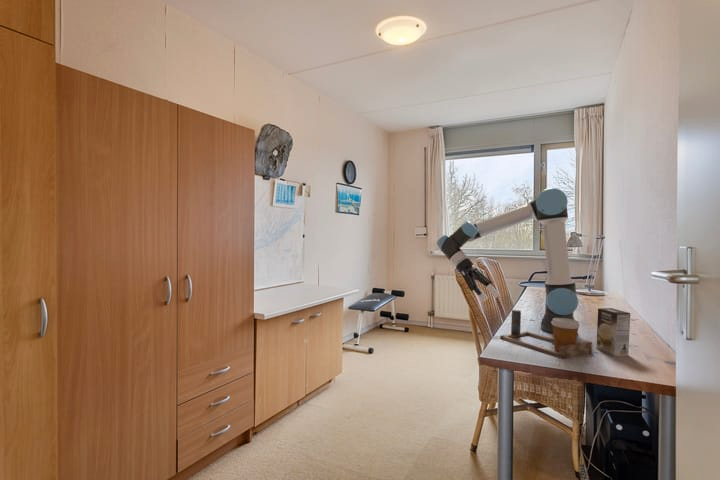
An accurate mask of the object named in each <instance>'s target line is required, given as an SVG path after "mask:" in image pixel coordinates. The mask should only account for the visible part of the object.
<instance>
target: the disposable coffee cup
mask: <svg viewBox="0 0 720 480" xmlns="http://www.w3.org/2000/svg"><path fill="white" fill-rule="evenodd" d="M551 323H552V326H553V333H552V334H553V339H554V343H553V344H554V351H555V352H559V348H560V346H564V345H569V344H574V343H577V337H578V331H579V328H580V327H581V325H580V323H579V321H578V320H576V319H575V320H573V319H567V318H553V320H552V322H551Z"/></svg>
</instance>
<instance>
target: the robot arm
mask: <svg viewBox="0 0 720 480" xmlns="http://www.w3.org/2000/svg"><path fill="white" fill-rule="evenodd" d="M537 194H538V195H537V196H536V198H534V199H531V200H529V201H528V202H527V204H524V205H522V206H519V207H516V208H514V209H511V210H509V211H506V212H503V213H500V214H497V215H495V216H492V217H489V218H487V219H484V220H481V221H479V222H476V223H474V224H473V223H472V222H471V221H470V220H466V221H465V222H464V223H463V224H461V226H460V227H459V228H457V229H456V230H455V231H454V232H453V233H452V234H450V235H449V234H444V235H442V236H441V237H440V238H439V239H438V240H437V242H436V245H437V247H438V248H439V250H440V251H441V252H442V254H443V255H444V256H445V257H446V258H447V259H448V260H449V261H450V262H451V265H453V266H454V268H456V270H457V272H458V273H460V275H461V276H462V278H463V280H464V281H465V284H466V286H467V288H468V289H469V290H470V291H471V292H474V293H475V294H476V295H477V296H478V298H479V299H480V300H481V301H482V302H483V303H485V302H486V301H487V300H488V299H489V297H488V296H487V294H485V292H484V291H483V290H482V289H481V287H479V286H478V285H477V282H476V280H477V281H478V282H479V283H480V284H482V285H483V286H485V289H487V291H488V292H489V294H491V296H492V297H493V299H497V298H498V297H499V296H500V295H501V293H499V292H498V291H497V289H496V288H495V287H494V286H493V285H492V283H493V282H492V280H490V279H489V278H488V277H487V276H485V275H484V274H483V273H482V272H481V271H479V269H478V268H476V267H475V268H473V266H474V264H473V262H472V261H471V259H470V258H469V257H468V256H467V254H465V252H464V251H462V249H461V248H462V247H463V246H464V245H465V244H467V243H468V242H470V243H471V242H473V241H475V240H478V239H480V238H483V237H487V236H489V235H491V234H494V233H497V232H501V231H503V230H506V229H508V228H512V227H514V226H517V225H520V224H523V223H525V222H526V223H527V222H528V221H531V220H535V221H537V222H539V223H540V224H541V225H542V232H543V234H542V235H543V244H544V252H545V263H546V272H547V280H546V281H545V282H544V287H545V288H544V291H545V303H544V304H545V305H544V306H545V307H544V314H543V317H542V318H541V319H542V320H541V322H540V330H542V331H544V332H546V333H551V334H553V326H552V323H551V322H552V320H553V318H567V319H573V320H576V319H575V317H574V313H575V311H576V310H577V308H578V306H579V298H578V295H577V288H576V286H577V285H576V281H575V280H573V278H571V271H570V270H571V269H570V261H569V252H568V243H567V234H566V224H565V223H566V221H568V219H569V216H568V215H569V213H568V202H569V201H568V197H567V194H566V193H565V192H564V191H563V190H561V189H559V188H555V187H549V188H546V189H543V190H541V191H540V192H539V193H537Z"/></svg>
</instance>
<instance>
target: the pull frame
mask: <svg viewBox="0 0 720 480" xmlns="http://www.w3.org/2000/svg"><path fill="white" fill-rule="evenodd" d="M521 317H522V311H521V310H518V309H512V310H511V327H510V328H511V330H510V333H508V334H502V335H500V336H499V339H501V340H504V341H507V342H511V343H512V344H513V343H514V344H515V345H516V344H517V345H520V346H522V347H526V348H529V349H532V350H535V351H538V352H542V353H544V354H547V355H551V356H553V357H556V358H560V359H563V360H564V359H568V358H573V357H578V356H582V355H585V354H586V355H587V354H591V353H592V350H593V349H592V347H593V345H592V344H593V342H592V341H589V340H586V341H579V342H576V343H574V344H569V345H564V346H560V348H559V352H556V351H555V350H552V349H549V348H547V347H546V348H545V347H542V346H538V345H536V344H534V343H533V344H532V343H529V342H526V341H522V340H520V339H517V338H519V337H526V336H529V337H531V338H532V337H533V338H536V339H540V340H542V341H543V340H544V341H547V342H550V343H553V344H554V337H548V336H546V335H542V334H539V333H535V332H531V331H527V330H525V331H521V326H522V325H521Z"/></svg>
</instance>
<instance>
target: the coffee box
mask: <svg viewBox="0 0 720 480" xmlns="http://www.w3.org/2000/svg"><path fill="white" fill-rule="evenodd" d="M596 326H597V329H596V349H597V350H599V351H601V352H604V353H606V354H609V355H610V356H614V357H616V356H617V357H620V356H621V357H622V356H624V357H625V356H629V354H630V353H629V351H630V331H631V313H630V312H626V311H624V310H621V309H616V308H612V307H609V308H608V307H607V308H606V307H604V308H603V307H602V308H599V307H598V309H597V325H596Z"/></svg>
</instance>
